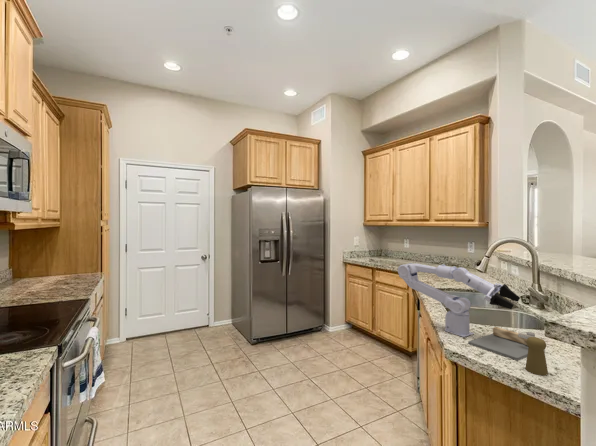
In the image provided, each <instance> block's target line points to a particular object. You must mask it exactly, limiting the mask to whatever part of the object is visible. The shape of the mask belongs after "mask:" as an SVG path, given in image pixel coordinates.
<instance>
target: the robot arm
mask: <svg viewBox="0 0 596 446" xmlns="http://www.w3.org/2000/svg"><path fill="white" fill-rule="evenodd" d="M419 272H420V273H429V274H435V275H436V276H437V278H443V279H447V280H448V279H449V280H454V281H455V282H457V283H463V284H464V285H467V287H470V288H471V289H473V290H475V291H477V292H479V293H480V294H482V295H485V297H484V299H483V300H485V301H487V302H489V305H491V306H499V307H503V308H506V309H508V310H512V309H513V307H514V306H515V305H514V304H513V303H512V302H511V301H513V302H519V301H520V299H521V297H520V296H519V295H518V294H516V293H515V292H514V291H513V290H511V288H510V287H509V286H508V285H507V284H506V283H503V284H501V283H498V282H495V283H492V282H490V281H488V280H486V279H484V278H482V277H481V276H478V275H476V274H474V273H471V272H470V271H469V270H468V269H467V268H465V267H463V266H460V267H457V266H454V265H453V266H448V265H446V264H445V263H444V264H443V263H442V264H439V265H437V266H432V265H428V264H421V263H417V262H416V263H412V262H408V263H406V264H400V265H399V266H398V267H397V273H398V274H397V275H398V277H399V278H400V279H402V280H403V282H405V284H406V285H407V286H408V288H410V289H412V290H414V291H417V292H419V293H421V294H423V295H425V296H426V297H429V298H431V299H433V300H435V301H437V302H439V303H442V305H444V306H445V308H447V309H449V310H448V311H447V312H446V314H445V316H444V317H445V319H444V320H445V321H444V322H445V324H444V325H445V326H444V327H445V329H444V332H447V333H450V334H453V335H456V336H459V337H463V338H467V337H469V336H472V335H474V334H475V333H474V332H472V331H470V325H471V324H470V323H471V322H470V312H469V310H470V309H471V307H472V304H471V303H472V302H471V301H470V300H469V299H468V298H467V297H464V296H461V297H460V296H458V295H456V294H455V295H454V294H449V293H447V292H445V291H443V290H441V289H439V288H437V287H435V286H432V285H430V284H428V283H425V282H423V281H421V280H419V277H418V273H419ZM506 298H507V299H509V300H511V301H509V300H507V299H506Z"/></svg>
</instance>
